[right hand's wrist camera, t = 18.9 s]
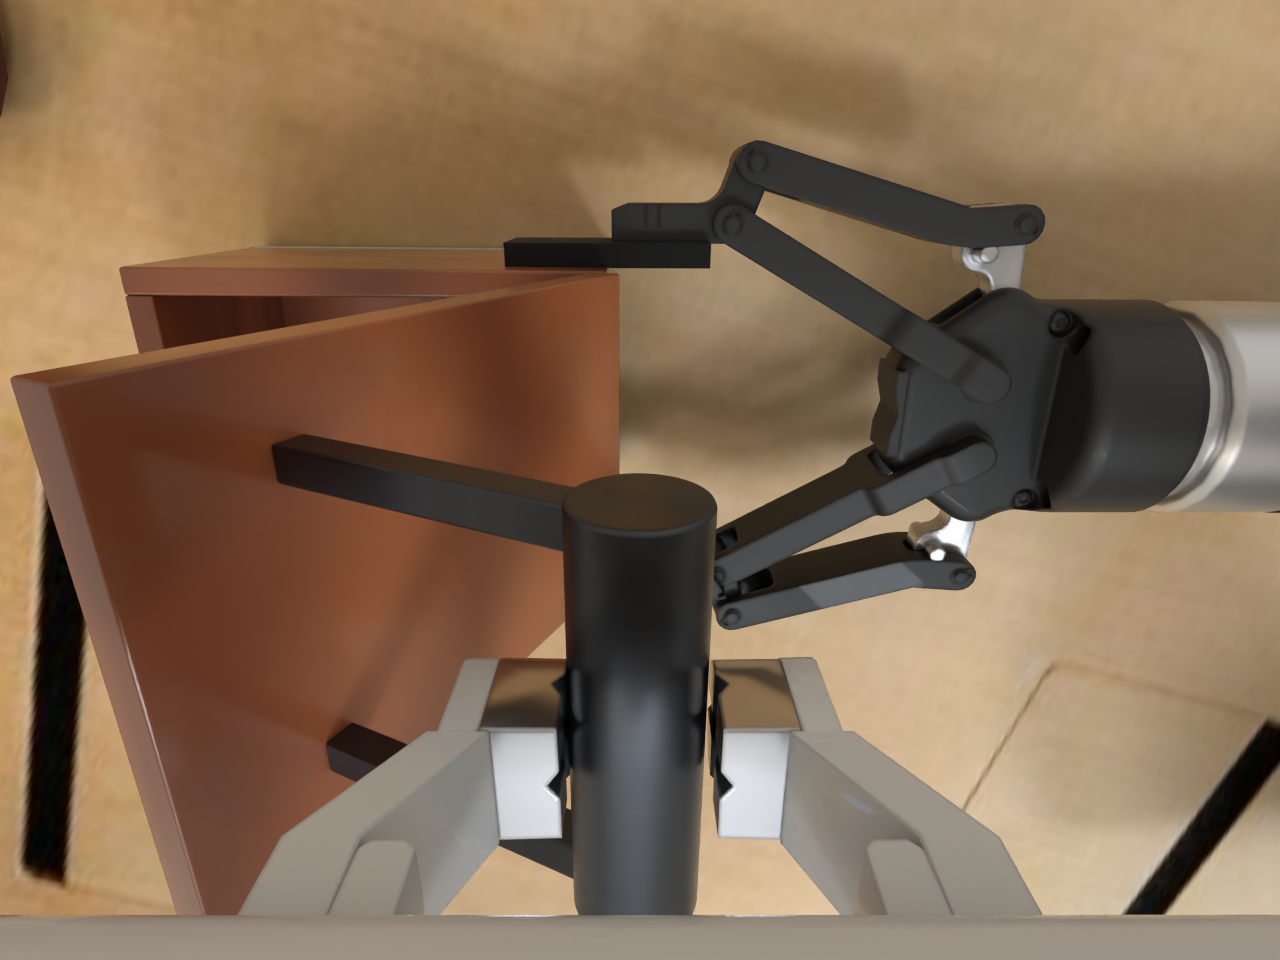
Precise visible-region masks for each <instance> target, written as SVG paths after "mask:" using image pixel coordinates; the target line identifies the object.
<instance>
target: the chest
mask: <svg viewBox="0 0 1280 960" xmlns="http://www.w3.org/2000/svg"><path fill="white" fill-rule="evenodd" d="M119 271H120V275H121V279H122V283H123V287H124V291H125V293H126V294H127V295H128V296H126V301H127V305H128V309H129V313H130V318H131V322H132V326H133V330H134V334H135V338H136V342H137V346H138V350H139V354H140V353H145V352H151V351H156V350H162V349H168V348H173V347H179V346H184V345H190V344H196V343H201V342H207V341H212V340H218V339H224V338H229V337H235V336H240V335H246V334H252V333H257V332H263V331H268V330H274V329H280V328H285V327H291V326H296V325H302V324H308V323H313V322H319V321H324V320H330V319H336V318H341V317H347V316H352V315H358V314H363V313H369V312H375V311H380V310H386V309H391V308H397V307H403V306H408V305H414V304H419V303H425V302H431V301H436V300H442V299H447V298H453V297H459V296H464V295H470V294H475V293H481V292H487V291H492V290H498V289H503V288H509V287H515V286H520V285H526V284H531V283H537V282H543V281H548V280H554V279H559V278H565V277H571V276H576V275H582V274H587V273H593V272H597V273H613V268H582V267H505V260H504V248H445V247H333V246H257V247H250V248H247V249H241V250H234V251H227V252H220V253H213V254H206V255H199V256H193V257H186V258H179V259H172V260H165V261H158V262H152V263H145V264H138V265H131V266H124V267H121V268H120V270H119Z"/></svg>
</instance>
